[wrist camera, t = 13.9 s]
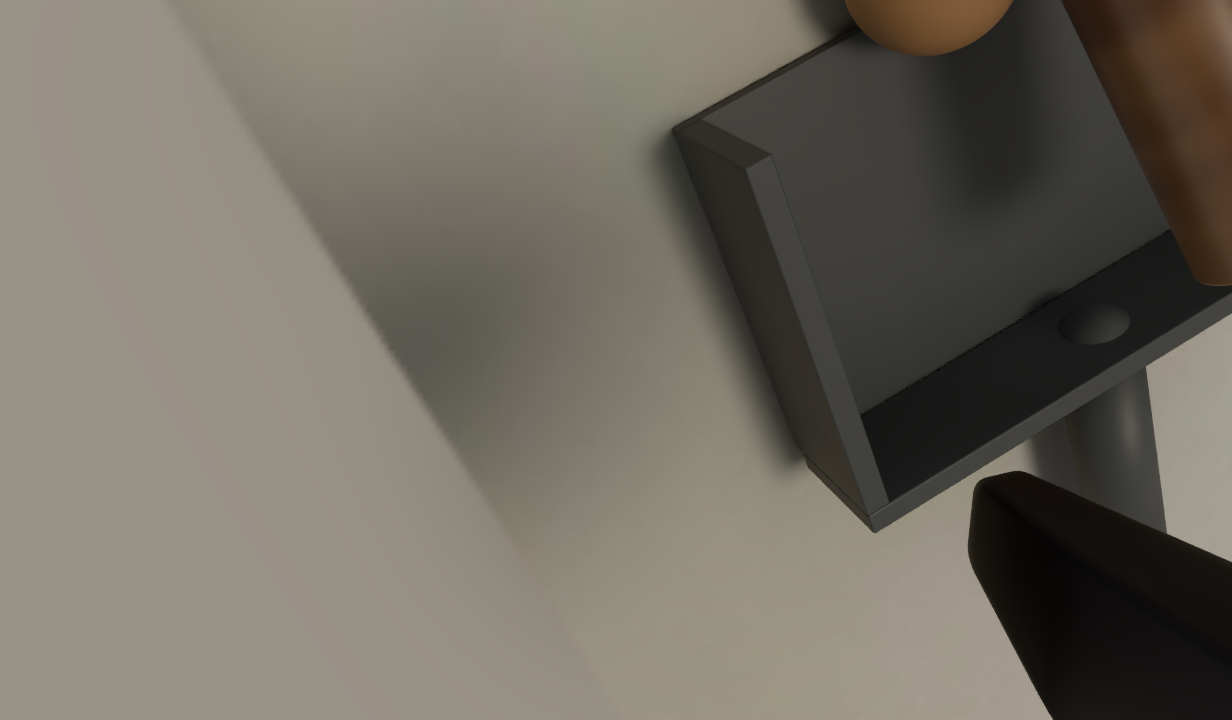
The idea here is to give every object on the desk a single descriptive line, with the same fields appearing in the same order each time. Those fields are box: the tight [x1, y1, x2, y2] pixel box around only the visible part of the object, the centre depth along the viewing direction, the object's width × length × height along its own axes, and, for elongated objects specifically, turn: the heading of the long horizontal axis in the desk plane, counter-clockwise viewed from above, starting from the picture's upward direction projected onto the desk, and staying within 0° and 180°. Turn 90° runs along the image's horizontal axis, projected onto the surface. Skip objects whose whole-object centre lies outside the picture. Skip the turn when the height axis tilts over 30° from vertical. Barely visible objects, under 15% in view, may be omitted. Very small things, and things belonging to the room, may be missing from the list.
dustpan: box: [673, 0, 1232, 534], centre depth 25 cm, size 19×15×3 cm
